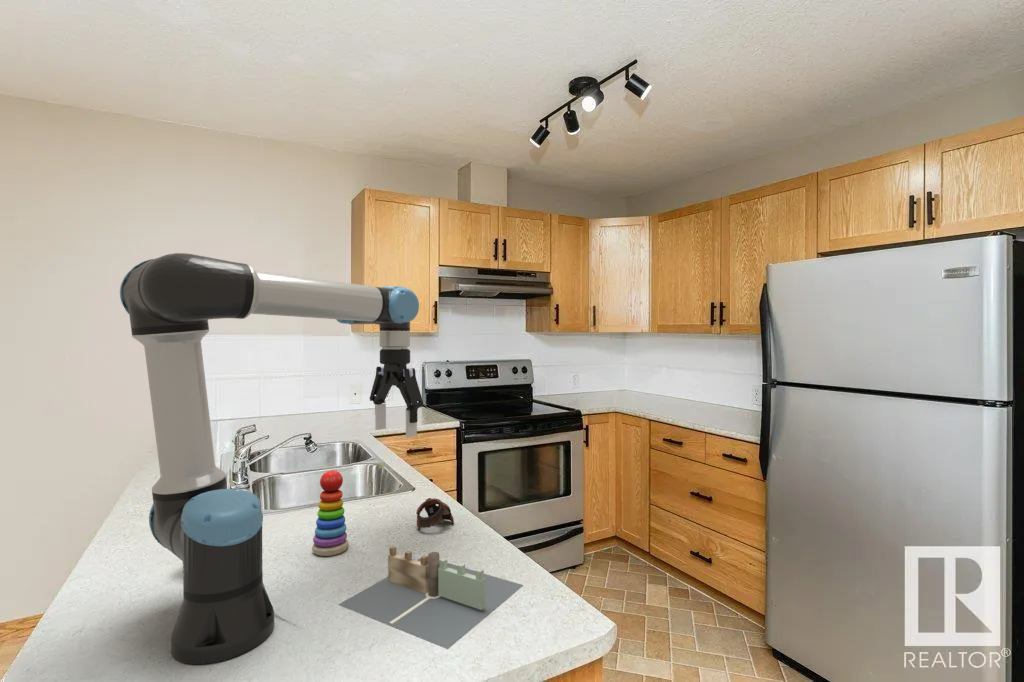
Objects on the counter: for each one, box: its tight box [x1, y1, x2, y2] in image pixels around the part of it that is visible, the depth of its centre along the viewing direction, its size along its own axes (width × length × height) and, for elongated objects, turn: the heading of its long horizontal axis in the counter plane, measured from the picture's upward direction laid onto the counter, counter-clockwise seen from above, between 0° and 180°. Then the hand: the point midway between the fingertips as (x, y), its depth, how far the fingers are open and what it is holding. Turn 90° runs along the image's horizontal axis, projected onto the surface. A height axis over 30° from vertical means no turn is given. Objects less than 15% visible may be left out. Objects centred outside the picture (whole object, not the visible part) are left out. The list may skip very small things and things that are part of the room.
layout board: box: [337, 557, 524, 650], centre depth 98 cm, size 24×26×1 cm
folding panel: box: [438, 558, 485, 610], centre depth 95 cm, size 10×1×7 cm, turn 58°
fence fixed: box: [387, 545, 441, 597], centre depth 101 cm, size 13×2×8 cm, turn 58°
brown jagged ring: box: [416, 497, 455, 530], centre depth 135 cm, size 12×9×8 cm
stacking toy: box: [311, 469, 349, 557], centre depth 120 cm, size 8×8×19 cm
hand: (395, 432), depth 129 cm, fingers open, 13 cm apart
